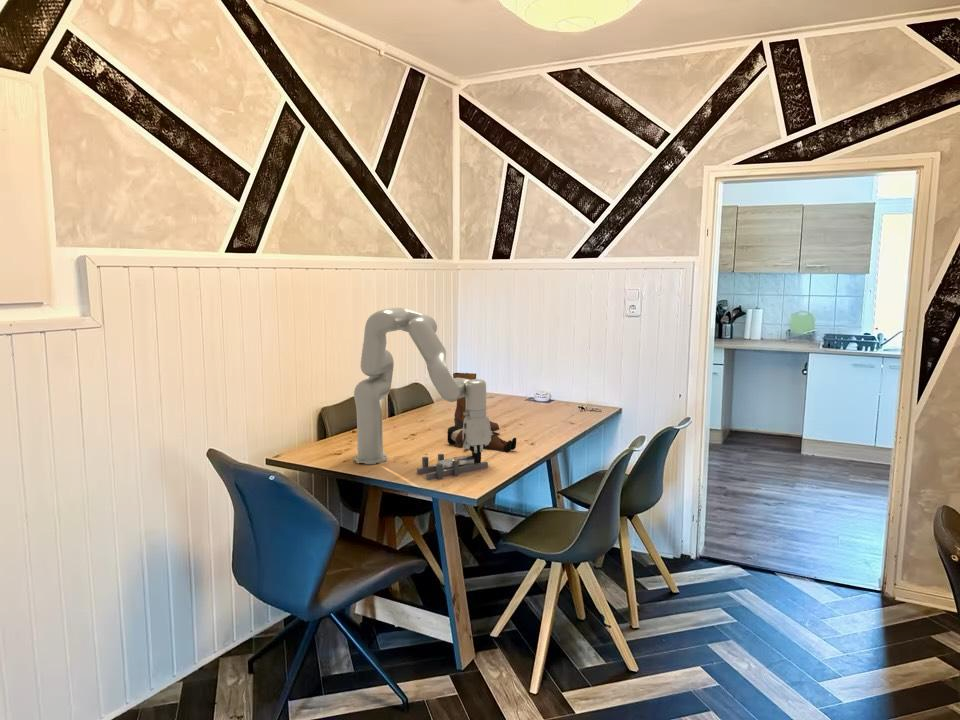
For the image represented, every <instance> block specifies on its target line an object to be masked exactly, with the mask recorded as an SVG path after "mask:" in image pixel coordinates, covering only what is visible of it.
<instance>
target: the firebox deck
mask: <svg viewBox="0 0 960 720" xmlns="http://www.w3.org/2000/svg"><path fill="white" fill-rule="evenodd" d="M421 460H422V461H421V465H422V466H421V467H418V468H416V471H415V472H414V474H416V475H418V476H420V477H422V479H425V480H427V481H429V482H431V483H432V482H436V481H441V480H447V479H450V478H455V477H459V476H460V477H461V476H465V475H470V474H475V473H479V472H484V471H488V470H491V468H489V462H488V461H481V463H474V464H471V465H466V466H461V467H459V461H457V460H454V461H452V469H447V470H443V464H441V463H439V464H437V463H436V464H433V465H429V457H428V456H422V458H421ZM440 460H445V454H443V453H438V454H437V462H438V461H440Z"/></svg>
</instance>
